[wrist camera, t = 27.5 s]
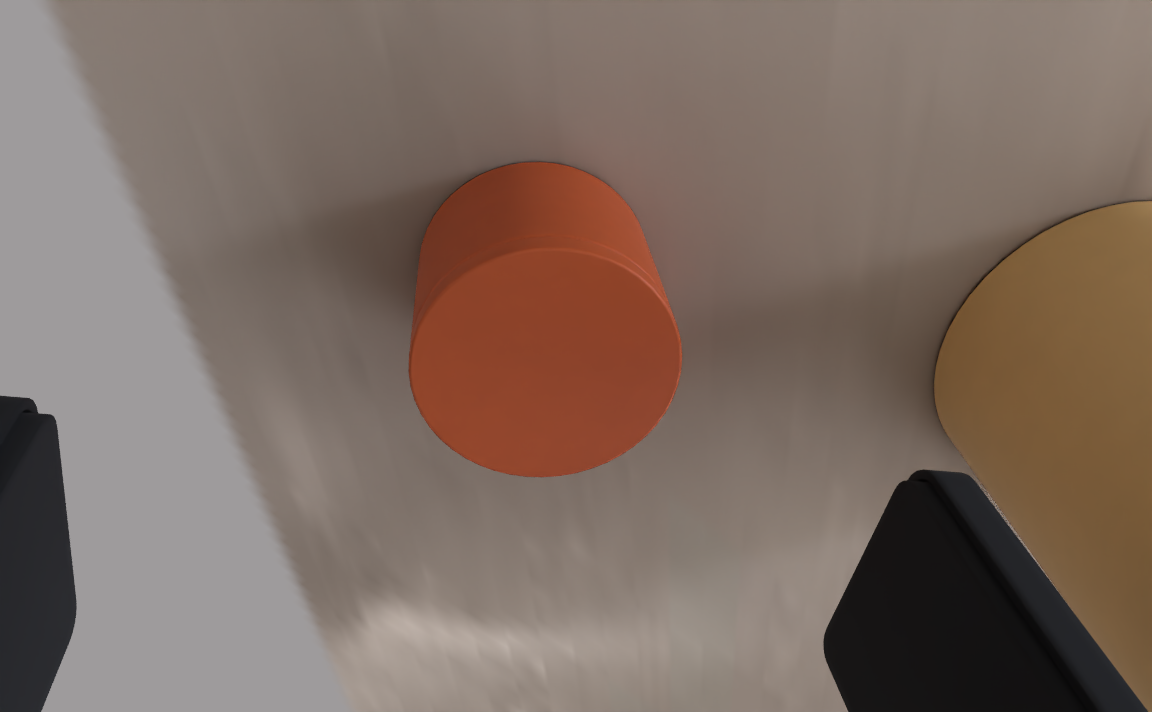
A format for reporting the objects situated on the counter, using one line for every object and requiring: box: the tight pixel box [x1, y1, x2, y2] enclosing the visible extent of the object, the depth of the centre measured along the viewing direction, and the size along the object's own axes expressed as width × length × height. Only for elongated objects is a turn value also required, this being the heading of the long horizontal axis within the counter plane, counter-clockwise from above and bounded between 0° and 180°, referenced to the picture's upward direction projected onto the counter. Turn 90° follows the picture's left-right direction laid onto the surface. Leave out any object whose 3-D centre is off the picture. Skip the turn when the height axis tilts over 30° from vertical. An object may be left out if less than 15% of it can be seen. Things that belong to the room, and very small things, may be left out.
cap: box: [409, 162, 682, 477], centre depth 15 cm, size 4×4×3 cm
